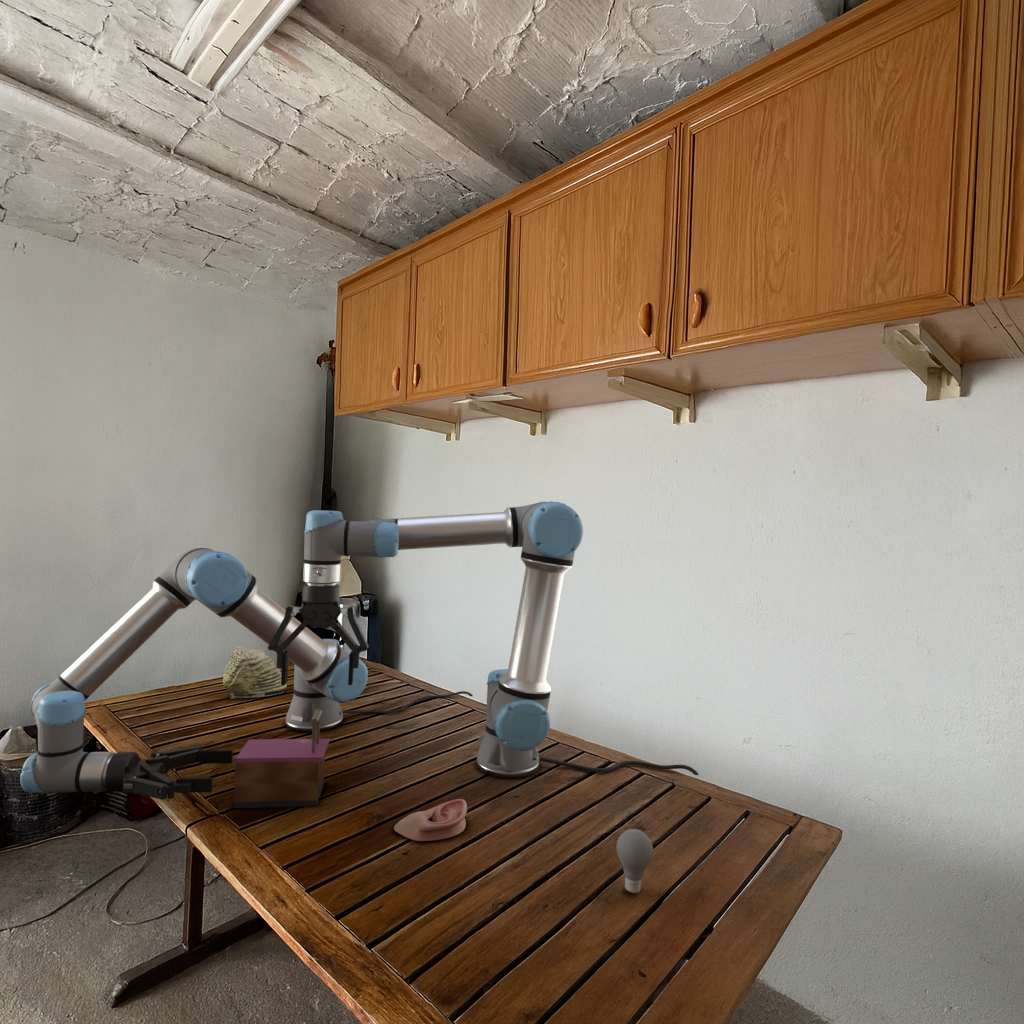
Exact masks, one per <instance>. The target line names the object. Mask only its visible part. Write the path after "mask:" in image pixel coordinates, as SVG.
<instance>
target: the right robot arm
mask: <svg viewBox="0 0 1024 1024" xmlns="http://www.w3.org/2000/svg"><path fill="white" fill-rule="evenodd" d="M304 527H305V528H304V532H303V534H304V539H303V540H304V542H303V543H304V544H303V545H304V546H303V569H302V570H303V573H302V582H304V584H303V585H302V595H301V597H302V599H301V606H296V605H293V604H289V605H288V606H287V607H286V608H285V610H286V612H285V617H284V619H283V621H282V623H281V624H280V626H279V628H278V630H277V631H276V633H275V635H274V637H273V639H272V640H271V642H270V644H269V645H268V646H267V649H268V650H269V651H273V652H275V653H276V668H278V669H281V673H282V674H281V685H285V684H286V685H287V683H288V681H289V679H288V678H289V677H288V676H289V660H288V655H289V651H285V649H286V648H287V647H288V645H289V644H290V643H291V642H292V641H293V640H294V639H295V638H296V637H297V636H298V635H299V634H300V633H301V632H302V630H303V629H304V628H305V627H307V626H308V627H310V628H311V629H317V628H321V629H327V628H330V627H331V628H332V630H333V631H334V632H335V633H336V634H337V635H338V636H339V637H340V639H341V640H342V641H343V642H344V643H345V645H346V646H347V647H348V648H349V650H350V652H349V676H348V685H352V683H353V672H354V668H358V666H359V659H360V654H361V653H363V652H366V651H367V650H368V649H369V643H368V641H367V639H366V636H365V635H364V633H363V630H362V628H361V626H360V623H359V621H358V620H357V617H356V612H355V607H354V605H350V606H347V607H341V605H340V596H341V595H340V594H341V593H340V592H341V586H340V584H339V582H341V569H342V567H341V566H342V557H365V558H378V559H383V558H395V557H397V556H398V553H399V551H405V550H406V551H407V550H422V549H423V550H424V549H438V548H441V549H442V548H454V547H455V548H456V547H457V548H458V547H472V546H488V545H489V546H490V545H506V546H507V547H508V548H521V553H520V560H521V561H522V563H523V565H524V566H525V569H524V576H523V582H522V587H521V594H520V599H519V603H518V610H517V615H516V622H515V627H514V634H513V639H512V645H511V650H510V652H511V653H510V657H509V663H508V668H501V669H495V670H491V671H490V672H489V673H488V675H487V682H486V685H487V689H486V691H487V692H486V711H485V712H486V713H485V731H484V733H482V734H481V735H480V736H478V738H477V743H480V742H481V743H480V746H479V747H478V748H479V749H478V752H477V754H476V767H477V768H478V769H479V771H481V772H482V773H485V774H487V775H490V776H493V777H498V778H503V779H504V778H505V779H517V778H526V777H528V776H531V775H534V774H535V773H536V772H537V771H539V769H540V762H545V763H549V764H553V765H558V766H561V767H566V768H571V769H576V770H580V771H585V772H591V773H608V772H612V771H615V770H616V769H618V768H620V767H623V766H632V765H633V766H641V767H646V768H651V769H658V770H678V769H679V770H687V771H689V772H690V773H692V775H694V776H699V775H700V774H699V773H698V770H697V769H696V770H697V771H696V770H695V769H694V768H693V767H692V766H689V765H687V764H666V765H664V764H657V763H652V762H651V763H650V762H645V761H640V760H622V761H619V762H617V763H615V764H613V765H611V766H608V767H590V766H585V765H581V764H576V763H572V762H567V761H562V760H559V759H554V758H549V757H544V756H540V755H539V750H538V748H537V747H539V746H540V745H541V744H543V743H544V741H545V740H546V739H547V737H548V735H549V734H550V733H549V732H550V728H551V718H550V713H549V711H548V709H549V704H550V698H551V691H552V687H551V685H550V684H549V683H548V680H547V675H548V668H549V663H550V658H551V651H552V645H553V640H554V634H555V629H556V622H557V618H558V612H559V611H558V610H559V606H560V605H559V604H560V599H561V595H562V594H561V593H562V589H563V583H564V582H563V581H564V576H565V574H566V572H568V571H569V570H570V569H572V568H573V564H574V560H575V559H574V558H575V553H576V551H577V550H578V548H579V547H580V546H581V543H582V541H583V537H584V526H583V521H582V519H581V517H580V515H579V514H578V513H577V511H575V509H574V508H572V507H571V506H569V505H567V504H566V503H563V502H560V501H539V502H535V503H532V504H531V503H530V504H527V505H522V506H521V505H520V506H514V507H513V506H512V507H506V509H505V510H504V511H501V512H500V511H499V512H482V513H481V512H480V513H465V514H464V513H463V514H462V513H461V514H447V515H446V514H445V515H432V516H431V515H430V516H415V517H414V516H413V517H412V516H411V517H398V518H371V519H368V520H367V521H364V520H363V521H355V520H354V521H353V520H352V521H351V520H346V519H345V520H344V516H343V512H341V511H338V510H322V509H321V510H317V509H316V510H315V509H313V510H309V511H308V512H307V513H306V517H305V526H304ZM298 613H299V614H300V616H301V618H303V621H301V624H300V625H299V626H298V627H297V628H296V629H295V631H294V632H293V633H292V634H291V635H290V636H289V637H288V638H287V639H286V640H285V641H284V642H283V643H282V644H281V645H279V644H278V642H279V640H280V638H281V636H282V635H283V633H284V631H285V629H286V628H287V626H288V624H289V622H290V620H291V619H292V617H294V618H295V616H297V614H298ZM341 614H343V616H344V618H346V619H347V621H348V623H349V625H350V627H351V629H352V631H353V634H354V635H355V637H356V640H357V642H358V643H357V642H356V641H355V640H354V638H353V637H352V636H351V635H350V633H348V631H347V630H346V629H345V628H344V626H343V625H342V623H341V622H340V620H339V619H338V618H339V617H340V615H341ZM358 644H359V645H358Z"/></svg>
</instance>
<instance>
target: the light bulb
mask: <svg viewBox="0 0 1024 1024" xmlns="http://www.w3.org/2000/svg"><path fill="white" fill-rule="evenodd" d="M615 849H616V854H617V857H618V859H619V861H620V863H621V865H622V867H623V873H624V874H623V875H624V876H625V878H624V888H625V890H627V891H628V892H630V893H634V894H635V893H639V892H640V891H641V889H642V887H641V886H642V879H643V877H644V875H645V871H646V868H647V867H648V866H649V864H650V863H651V861H652V859H653V855H654V847H653V843H652V841H651V838H649V836H648V835H647V834H646V833H645V832H643V831H642V830H641V829H636V828H629V829H627V830H625V831H623V832H622V833H621V834H620V835H619V837H618V839H617V841H616V847H615Z"/></svg>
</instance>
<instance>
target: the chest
mask: <svg viewBox="0 0 1024 1024" xmlns="http://www.w3.org/2000/svg"><path fill="white" fill-rule="evenodd" d="M325 759H326V754H325V755H324V758H323V761H322V762H264V763H236V762H235V764H234V765H235V767H234V768H235V769H234V793H233V809H257V808H258V809H259V808H260V809H261V808H294V807H295V808H298V807H300V808H301V807H317V806H318V803H319V800H320V797H321V794H322V791H323V789H324V784H325V765H326V764H325V763H326V762H325V761H326V760H325Z"/></svg>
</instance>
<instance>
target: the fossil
mask: <svg viewBox="0 0 1024 1024" xmlns="http://www.w3.org/2000/svg"><path fill="white" fill-rule="evenodd" d="M281 674H282V671H281V669H280V668H277V664H276V663H275V662H274V660H273V659H272V658H271V657H270V656H269V655H268V654H267V653H266V652H265V650H264V649H263V648H260V647H258V648H251V647H247V646H246V647H245V646H238V647H237V648H236V649H235V650H233V651H232V653H231V656H230V657H229V659H228V660H227V663H226V666H225V668H224V671H223V675H222V676H223V677H222V685H223V687H224V688H225V690H226V691H228V693H229V698H230V699H250V698H264V697H271V696H275V695H281V694H284V693H285V691H286V689H287V687H288V686H287V683H286V684H285V685H281Z"/></svg>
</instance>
